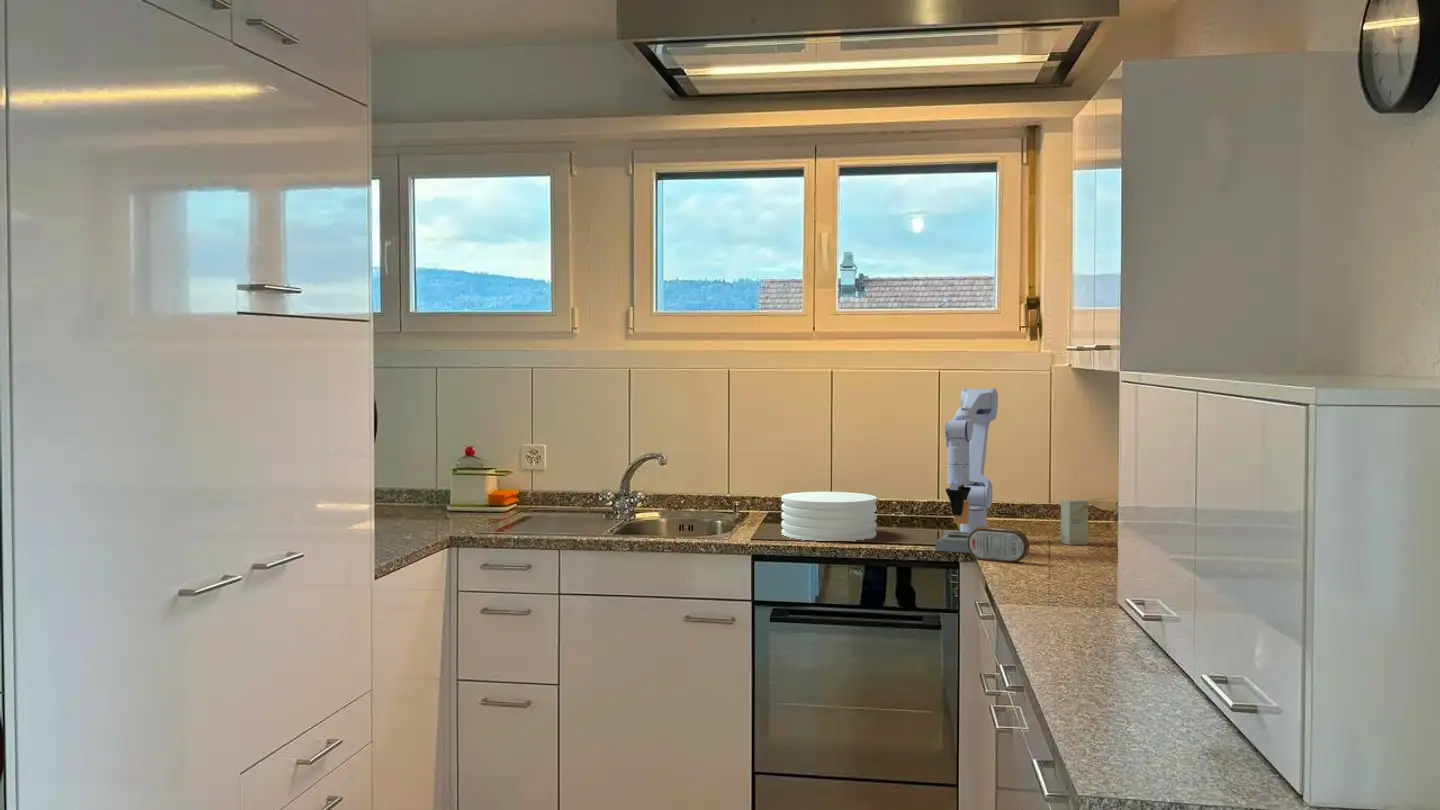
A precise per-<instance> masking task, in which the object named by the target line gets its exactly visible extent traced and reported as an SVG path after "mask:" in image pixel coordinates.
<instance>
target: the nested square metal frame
mask: <svg viewBox="0 0 1440 810" xmlns="http://www.w3.org/2000/svg"><path fill="white" fill-rule="evenodd" d="M970 533H971V532H967V531H960V530H947V529H946V530H944V531H943V535H942V536H940V537H939V538H938V539H937V540H936V541H935V552H948V553H964V554H971V552H970V551H969V549H968V545H967V540H968V537H969V535H970Z"/></svg>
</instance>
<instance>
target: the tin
mask: <svg viewBox="0 0 1440 810" xmlns="http://www.w3.org/2000/svg"><path fill="white" fill-rule="evenodd" d="M967 545H968V549H969V551H970V552H971V553H970V554H971V555H972V556H973V557H974V558H975V559H978V560H981V561H988V562H989V561H990V562H1002V563H1011V564H1012V563H1013V564H1014V563H1018V562H1020V561H1022V560H1024V559H1025V558H1026V557H1027V555H1028V553H1029V550H1030V543H1029V539H1028V537H1027V536H1026V534H1024V532H1022V531H1021V530H1019V529H1016V528H1009V527H998V526H997V527H996V526H988V525H986V526H981V527H978V528H976V529H974V530H973V531H972V532H971V533H970V535H969V537H968V540H967Z"/></svg>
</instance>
